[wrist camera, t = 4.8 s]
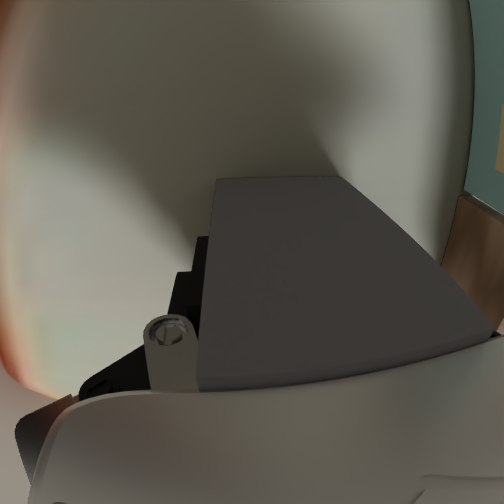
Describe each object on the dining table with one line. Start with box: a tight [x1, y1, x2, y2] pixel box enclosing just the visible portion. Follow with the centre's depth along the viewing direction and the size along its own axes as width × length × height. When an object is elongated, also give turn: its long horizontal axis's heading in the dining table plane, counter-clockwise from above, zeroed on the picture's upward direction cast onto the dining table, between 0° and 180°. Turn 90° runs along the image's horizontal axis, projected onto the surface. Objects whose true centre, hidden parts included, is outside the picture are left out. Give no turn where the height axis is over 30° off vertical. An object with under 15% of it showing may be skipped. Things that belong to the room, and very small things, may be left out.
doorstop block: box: [196, 177, 495, 391], centre depth 9 cm, size 6×5×9 cm
